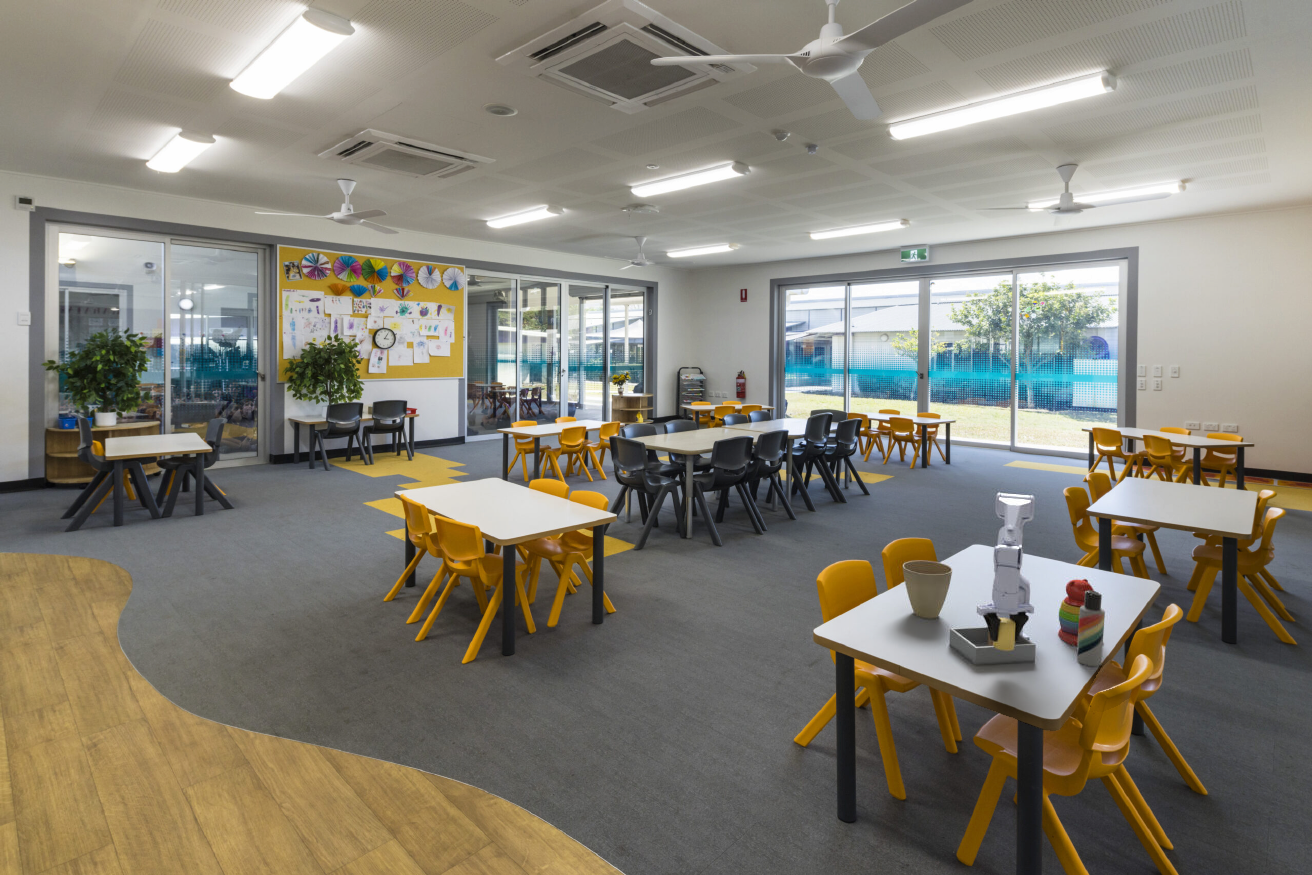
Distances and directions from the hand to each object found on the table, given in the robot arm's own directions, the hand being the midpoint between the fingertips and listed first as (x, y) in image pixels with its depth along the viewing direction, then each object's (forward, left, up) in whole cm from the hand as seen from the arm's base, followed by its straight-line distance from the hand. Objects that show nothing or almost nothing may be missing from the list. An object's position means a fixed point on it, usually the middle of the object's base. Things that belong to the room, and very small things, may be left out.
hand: (1003, 639), depth 177 cm
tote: (-11, +3, -9) cm, 14 cm away
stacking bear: (-17, +34, -9) cm, 40 cm away
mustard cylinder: (0, 0, -2) cm, 2 cm away
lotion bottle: (-2, +26, -9) cm, 28 cm away
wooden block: (-10, +6, -8) cm, 15 cm away
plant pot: (-40, -1, -9) cm, 41 cm away
